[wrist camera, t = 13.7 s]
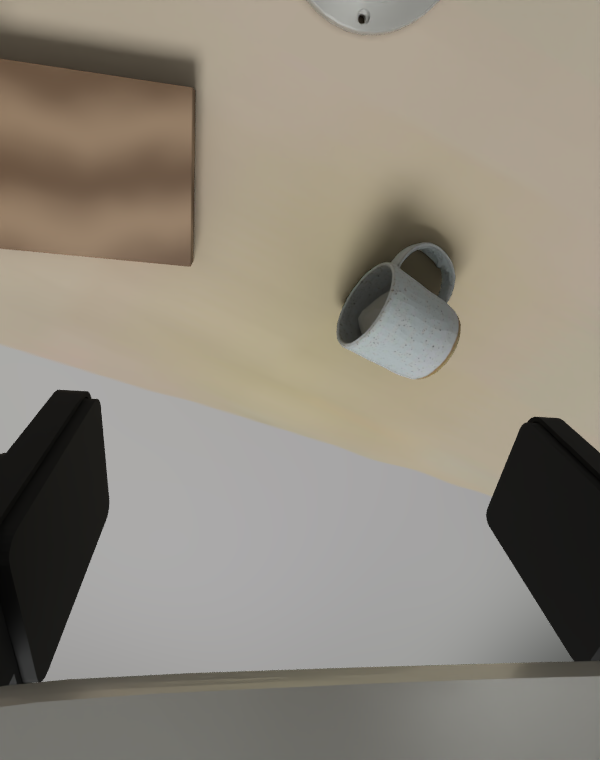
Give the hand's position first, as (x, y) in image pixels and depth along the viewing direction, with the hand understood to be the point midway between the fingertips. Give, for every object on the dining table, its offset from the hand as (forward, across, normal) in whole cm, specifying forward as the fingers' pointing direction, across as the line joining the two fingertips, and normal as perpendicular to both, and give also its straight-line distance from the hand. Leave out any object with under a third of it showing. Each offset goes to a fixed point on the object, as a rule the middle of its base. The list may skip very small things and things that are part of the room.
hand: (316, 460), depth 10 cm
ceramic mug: (+31, -12, +4) cm, 33 cm away
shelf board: (+30, +18, -3) cm, 35 cm away
